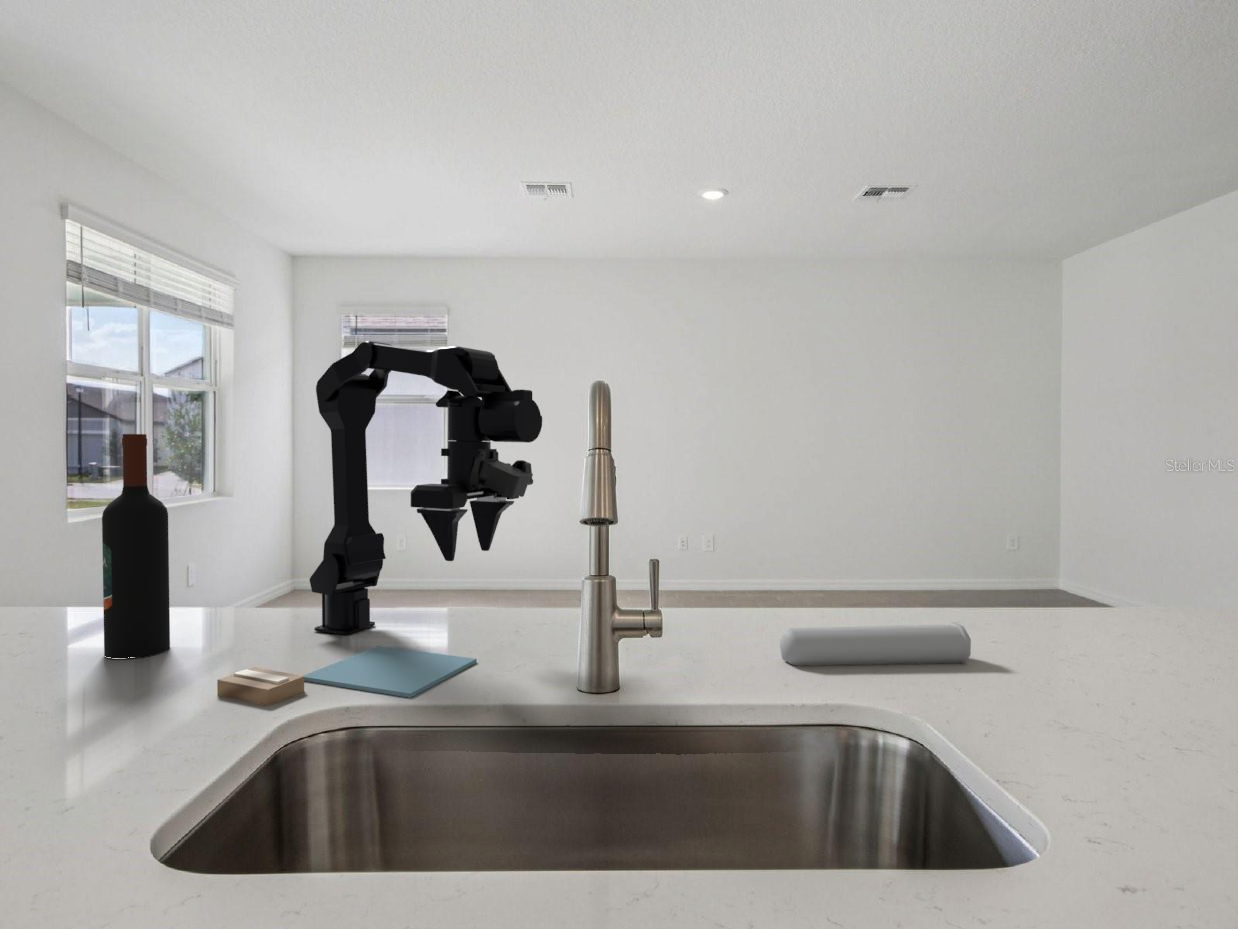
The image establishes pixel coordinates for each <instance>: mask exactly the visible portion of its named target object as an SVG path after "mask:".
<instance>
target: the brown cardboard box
mask: <svg viewBox="0 0 1238 929" xmlns="http://www.w3.org/2000/svg"><path fill="white" fill-rule="evenodd" d="M216 682H217V696H219V697H225V698H229V699H234V700H238V701H244V702H248V703H253V704H258V705H263V706H272V705H273V704H276V703H278V702H281V701H284V700H286V699H288V698H291V697H294V696H296V695H298V694H301V693H303V692H304V693H305V681H304V676H303V675H300V674H294V673H289V672H283V671H278V670H272V669H267V668H261V667H257V666H254V667H252V668H248V669H246V668H245V669H242V670H239V671H236V672H234V673H233V674H230V675H227V676H224V677H221V678H217V681H216Z"/></svg>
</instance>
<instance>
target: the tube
mask: <svg viewBox="0 0 1238 929" xmlns="http://www.w3.org/2000/svg"><path fill="white" fill-rule="evenodd" d="M971 643H972V640H971V637H970V635H969V633H968V632H967V630H966V628H965V626H964V625H961V624H960V623H958V622H951V623H949V624H913V625H912V624H911V625H910V624H909V625H906V624H905V625H869V626H868V625H867V626H863V625H862V626H859V625H858V626H825V627H823V626H822V627H817V626H816V627H790V628H789V629H787V630H786V631H785V632H783V634H782V636H780V639H779V648H780V653H781V659H782V660H783V661H786V662H787V663H789V664H790V665H792V666H794V665H797V667H799V666H798V665H809V666H840V665H839V664H864V665H900V664H901V665H903V664H904V665H907V664H908V665H909V664H912V665H913V664H916V665H917V664H918V665H919V664H967V661H969V659H970V657H971V652H972V651H971V647H972V644H971ZM837 664H838V665H837Z"/></svg>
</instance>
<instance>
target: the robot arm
mask: <svg viewBox="0 0 1238 929" xmlns="http://www.w3.org/2000/svg"><path fill="white" fill-rule="evenodd" d="M498 363H499V362H498V361H497V359H496V355H495V354H494V353H492V352H490V351H488V350H481V349H475V348H470V347H463V346H458V345H457V346H456V345H454V346H446V347H445V346H443V347H439V348H438V347H437V348H436V349H432V350H431V349H430V350H426V349H425V350H424V349H417V348H413V347H412V348H410V347H403V346H396V345H392V344H390V343H385V342H379V341H375V340H374V341H373V340H372V341H371V340H366V341H362V342H361V343H359V344H358V345H357V346H356V348H355V349H354V350H353V351H352V352H351V353H348V354H346V355H345V356H343V357H342V358H340V359H338V360H336V361H333V363H332V364H331V365H330V366H329V367H328V368H327V370H326V371H325V372H324V373H323V374H322V375H321V377H320V378H319V379H318V380H317V382H316V386H315V393H316V400H317V406H318V412H319V414H320V416H321V418H322V420H324V422H325V423H326V425H327V427H328V428H329V430H330V437H331V438H330V439H331V441H330V442H331V464H332V465H331V467H332V470H331V471H332V490H333V493H332V494H333V495H332V496H333V518H334V519H333V520H334V524H333V526H332V528H331V530H330V532H329V533H328V535H327V537H326V539H325V541H324V545H323V546H324V547H323V554H322V555H323V556H322V558H323V559H322V561H321V562H320V563H319V565H318V566H317V567H316V569H315V571H314V572H313V573H312V574H311V576H310V577H309V579H308V580H309V585H310V588H311V589H310V590H311V592H312V593H314V594H320V595H321V625H317V626H315V627H314V632H323V633H328V634H338V635H345V636H347V635H351V634H353V633H357V632H360V631H362V630H365V629H368V628H371V627H373V626H375V625H376V622H375V621H372V620H371V617H370V616H371V615H370V614H371V610H370V609H371V601H370V600H371V599H370V598H369V589H368V588H369V587H376V586H377V585H378V581H379V577H380V575H381V574H380V573H381V571H382V569H383V565H384V560H386V558H387V557H386V555H385V550H384V545H385V536H384V534H383V533H382V532H379V533H378V532H376V530H375V529H374V527H373V526H372V525H371V523H370V517H369V514H370V513H369V510H370V509H369V487H368V486H369V485H368V464H367V462H368V461H367V460H368V459H367V457H368V456H367V437H366V436H367V435H366V433H367V432H366V431H367V428H368V426H369V424H370V422H371V421H372V419H373V417H374V415H375V414H376V413H375V412H376V405H377V398H378V397H379V396H380V395H381V393H383V391H384V390H385V389H386V388H387V386H388V381H389V376H390V375H389V374H390V373H391V372H392V371H393V372H398V373H403V374H404V373H405V374H410V375H417V376H422V377H426V378H429V379H430V380H432V381H433V382H434V383H435V384H437V385H440V386H443V387H445V388H447V391H446V392H445V393H444V395H442V397H441V398H439V399H438V400H437V401H436V402H435V406H436V407H437V408H445V409H447V448H441V449H440V456H441V457H447V474H446V475H447V478H441V479H440V483H423V484H416V485H415V486H414V488H413V489H412V490H411V491H410V507H411V508H416V513H417V514H420V515H421V516H422V518H423V520H424V522H425V523H426V525H427V527H428V528H429V531H430V532H431V534H432V536H433V538H434V541H435V543H436V544H437V546H438V548H439V550H440V552H441V555H442V556H443V558H444V560H445V561H446V562H453V561H455V555H456V549H457V541H458V540H457V539H458V530H459V521H460V520H462V518H463V517H464V516H465V514H466V513H467V512H468V511H469V510H468V509H467V508H466V509H464V508H465V506H466V505H467V502H468V500H469V505H470V509H471V515H472V517H473V521H474V522H473V523H474V526H475V530H476V536H477V540H478V543H479V547H480V549H481V551H483V552H488V551H490V549H491V546H492V544H493V543H492V542H493V541H494V540H493V539H494V537H495V534H496V530H497V527H498V525H499V524H498V523H499V521H500V519H501V515H502V514H503V512H504V511H506V510H507V509H508V508H509V507H510V506H512V505H514V503H515V501H514V499H515V500H516V499H519V498H520V497H521V498H522V497H524V496H525V494H526V491H527V488H528V486H531V485H533V483H534V479H533V475H534V473H533V472H532V471H533V470H532V463H531V462H528V461H526V460H522V459H519V460H518V459H517V460H515V461H514V463H513V464H512V465H511V463H510V462H509V463H508V462H507V463H506V462H504V461H500V459H499V452H498V450H497V448H491V446H492V445H491V443H492V442H495V443H532V442H534V441H536V440H537V439H538V438H539V436H540V433H541V431H542V426H543V416H542V415H541V411H540V408H539V405H538V404H537V403H536V401H535V400H533V391H532V390H530V389H513V390H512V389H511V387H510V385H509V384H508V382H507V380H506V379H505V377H504V375H503V374H502V371H501V370H500V368H499V364H498ZM368 369H371V370H372V371H371V372H370V373H369V374H366V373H365V372H366V371H367V370H368ZM448 389H449V390H448ZM472 499H473V500H472Z"/></svg>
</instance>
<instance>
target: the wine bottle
mask: <svg viewBox="0 0 1238 929" xmlns="http://www.w3.org/2000/svg"><path fill="white" fill-rule="evenodd" d="M121 446H122V482H123V485H122V489H121V490H122V491H121V493H120V495H119V496H117V497H116V498H115V499H113V500H112V501H111V502H109V503H108V504H107V506H106V507H105V508H104V510H103V512H102V516H101V534H102V535H101V540H102V543H101V544H102V590H103V592H102V594H103V596H102V598H103V601H102V602H103V603H102V604H103V606H102V607H103V646H104V647H103V650H104V651H103V653H104V656H106V657H111V658H128V657H129V658H130V657H143V658H146V657H145V656H148V657H151V655H153V656H156V655H160V654H162V653H165V652H167V651H169V650H170V649H171V629H170V628H171V626H170V624H171V623H170V622H171V621H170V620H171V619H170V613H171V612H170V561H169V560H170V558H169V557H170V556H169V555H170V551H169V548H170V547H169V512H168V509H167V507H166V506H165V504H164V503H163V502H162V501H161V500H160V499H158V498H156V496H154V495H152V494H151V493H150V491H149V488H148V456H147V455H148V451H147V450H148V449H147V448H148V447H147V446H148V437H147V433H144V434H143V433H141V434H140V433H122V438H121ZM106 657H105V658H106Z"/></svg>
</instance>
